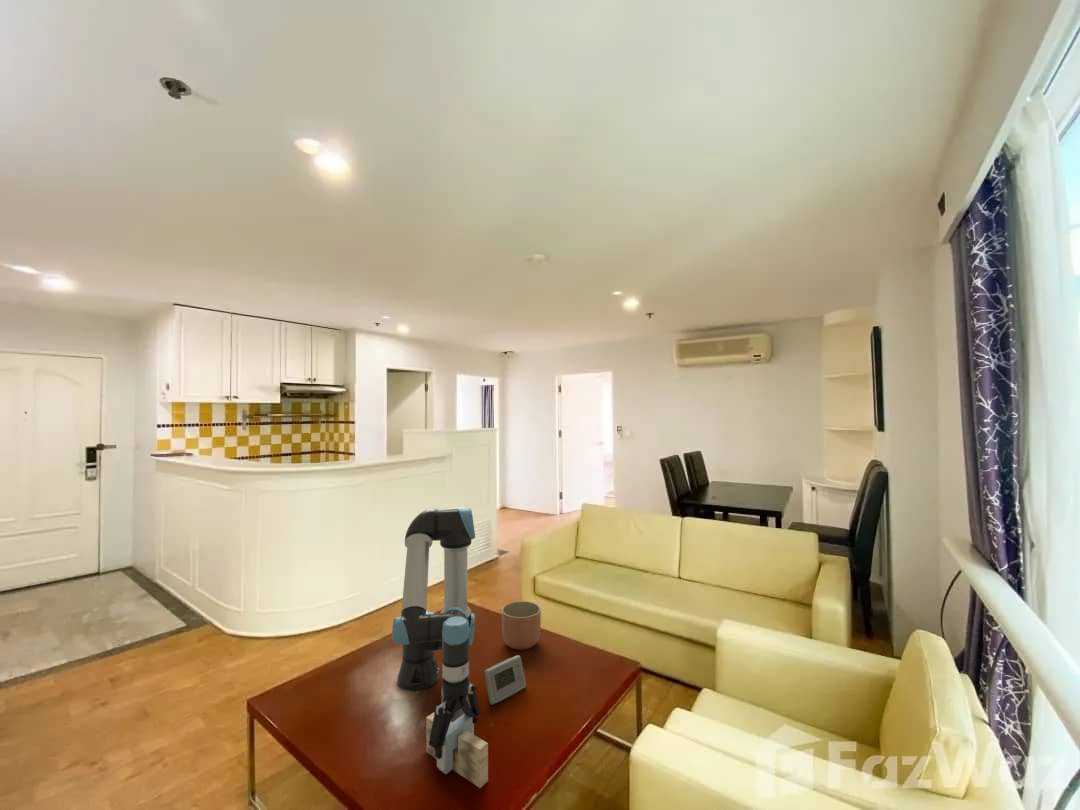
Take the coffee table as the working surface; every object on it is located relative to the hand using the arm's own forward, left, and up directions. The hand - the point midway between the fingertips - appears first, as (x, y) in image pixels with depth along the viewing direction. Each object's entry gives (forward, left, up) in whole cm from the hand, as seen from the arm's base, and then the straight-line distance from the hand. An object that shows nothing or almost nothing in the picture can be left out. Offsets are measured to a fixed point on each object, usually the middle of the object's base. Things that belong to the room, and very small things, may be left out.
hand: (455, 755), depth 127 cm
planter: (-28, +64, -3) cm, 70 cm away
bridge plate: (0, 0, -1) cm, 1 cm away
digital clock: (-10, +33, -3) cm, 35 cm away
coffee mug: (-16, +15, -3) cm, 22 cm away
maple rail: (0, 0, -3) cm, 3 cm away
